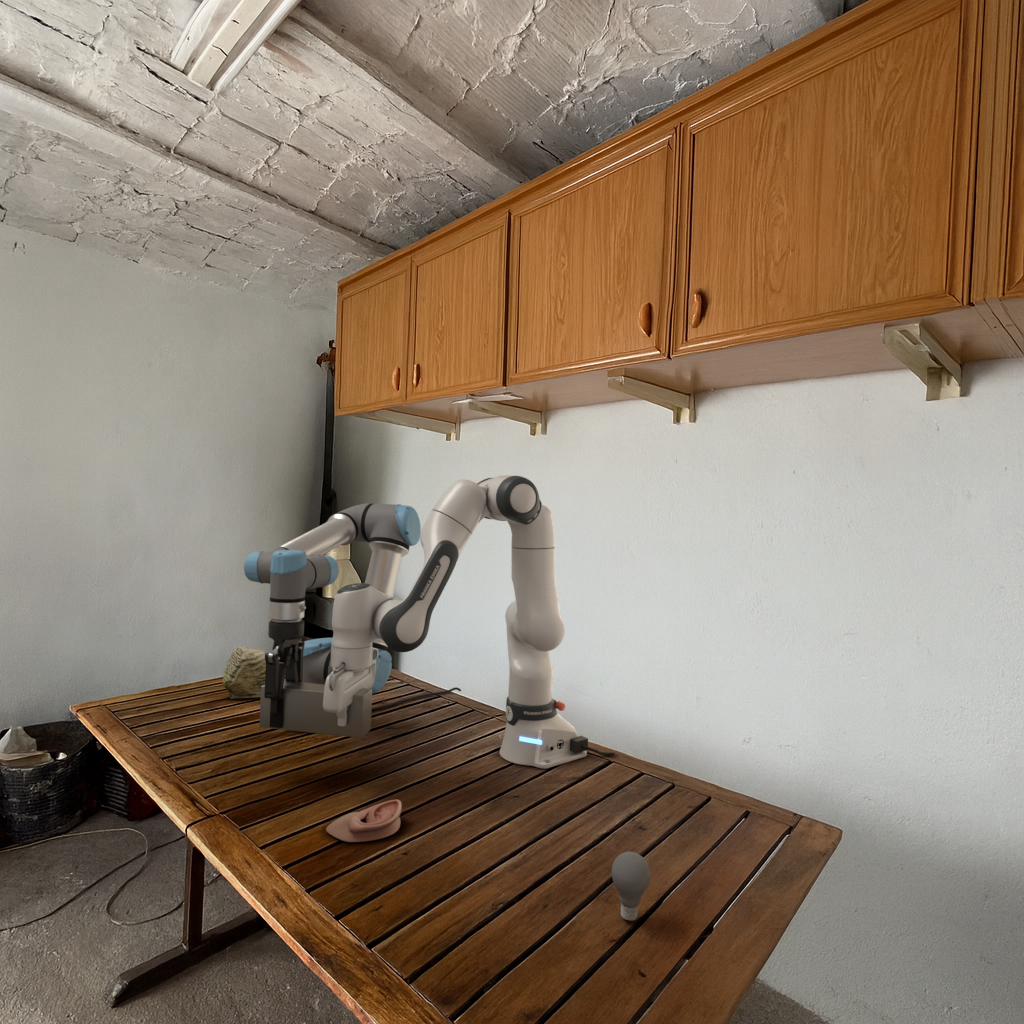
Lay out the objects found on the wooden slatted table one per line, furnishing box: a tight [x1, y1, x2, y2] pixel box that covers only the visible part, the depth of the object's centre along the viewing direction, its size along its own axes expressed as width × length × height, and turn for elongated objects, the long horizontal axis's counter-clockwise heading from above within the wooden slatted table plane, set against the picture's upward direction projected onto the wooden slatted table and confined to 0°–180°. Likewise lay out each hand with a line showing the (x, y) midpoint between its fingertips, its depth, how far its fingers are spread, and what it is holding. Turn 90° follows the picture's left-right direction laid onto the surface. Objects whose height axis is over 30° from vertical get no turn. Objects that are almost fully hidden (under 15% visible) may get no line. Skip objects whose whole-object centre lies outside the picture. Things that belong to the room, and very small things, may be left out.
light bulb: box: [611, 851, 652, 921], centre depth 99 cm, size 6×6×10 cm
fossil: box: [222, 646, 286, 699], centre depth 198 cm, size 9×18×15 cm, turn 132°
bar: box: [259, 681, 373, 739], centre depth 141 cm, size 24×5×9 cm, turn 81°
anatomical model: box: [325, 799, 403, 843], centre depth 122 cm, size 13×4×12 cm
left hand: (282, 722), depth 142 cm, fingers closed on bar, 5 cm apart
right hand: (349, 719), depth 140 cm, fingers closed on bar, 5 cm apart
